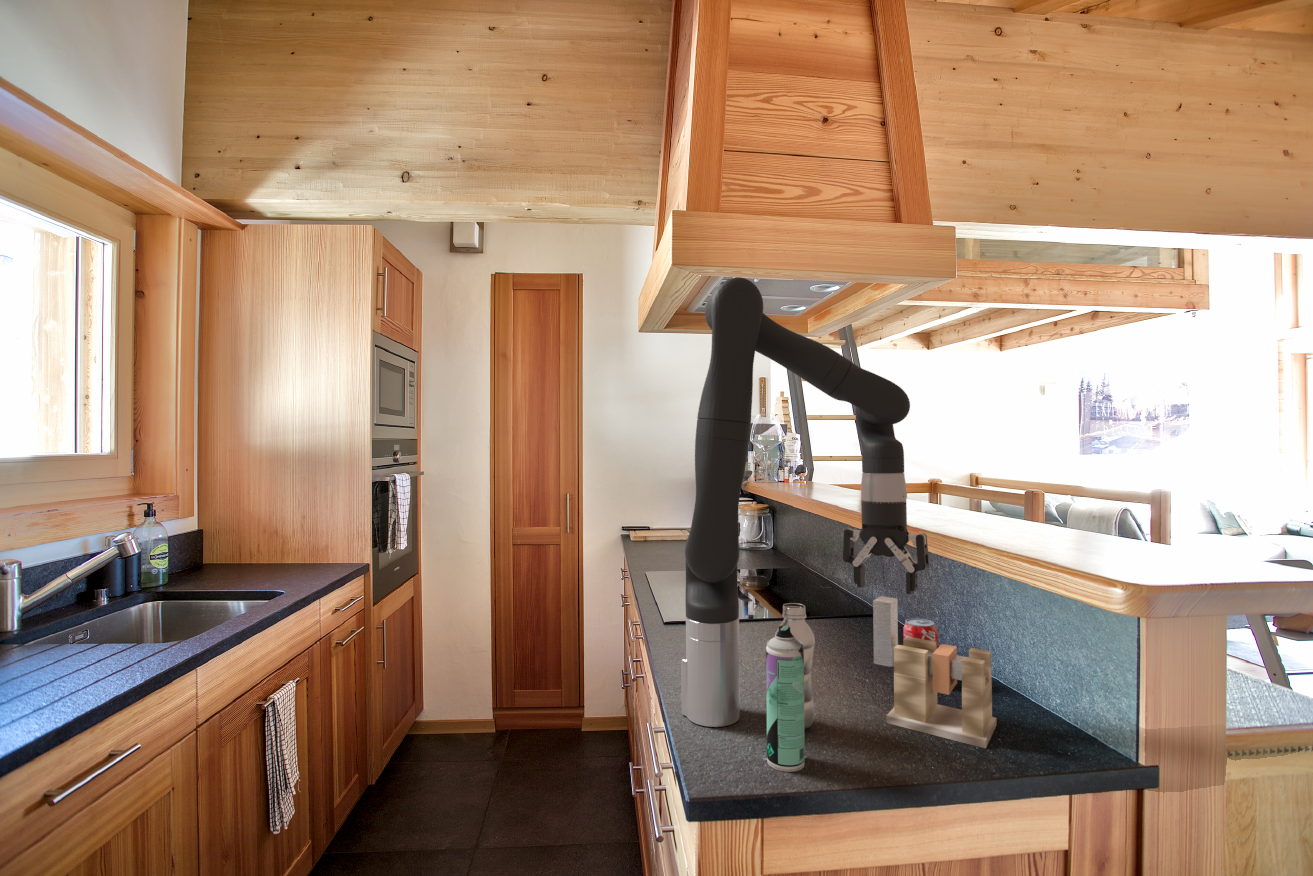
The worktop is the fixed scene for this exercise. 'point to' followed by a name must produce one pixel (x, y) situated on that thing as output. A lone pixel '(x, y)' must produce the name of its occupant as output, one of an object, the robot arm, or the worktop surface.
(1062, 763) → the worktop surface
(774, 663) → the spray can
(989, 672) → the stand
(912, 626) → the soda can
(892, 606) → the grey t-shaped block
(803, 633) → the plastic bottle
